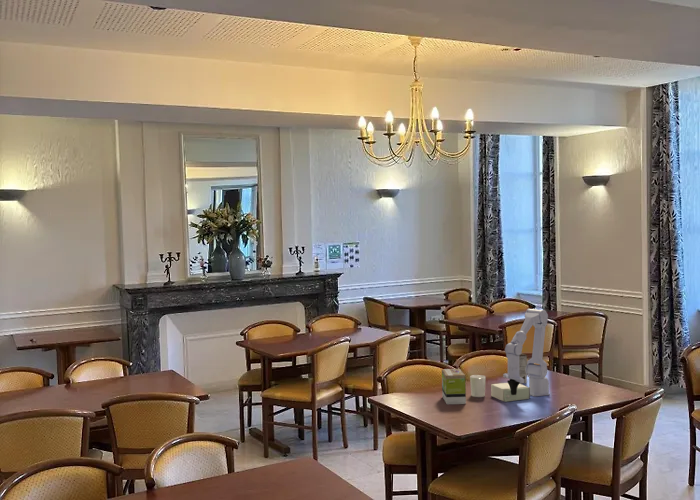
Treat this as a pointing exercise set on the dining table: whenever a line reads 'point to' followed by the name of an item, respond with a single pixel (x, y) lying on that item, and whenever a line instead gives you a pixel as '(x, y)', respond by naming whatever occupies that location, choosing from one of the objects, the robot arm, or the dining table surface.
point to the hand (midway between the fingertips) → (513, 394)
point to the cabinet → (501, 390)
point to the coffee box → (523, 367)
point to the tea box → (453, 386)
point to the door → (517, 394)
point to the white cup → (477, 385)
